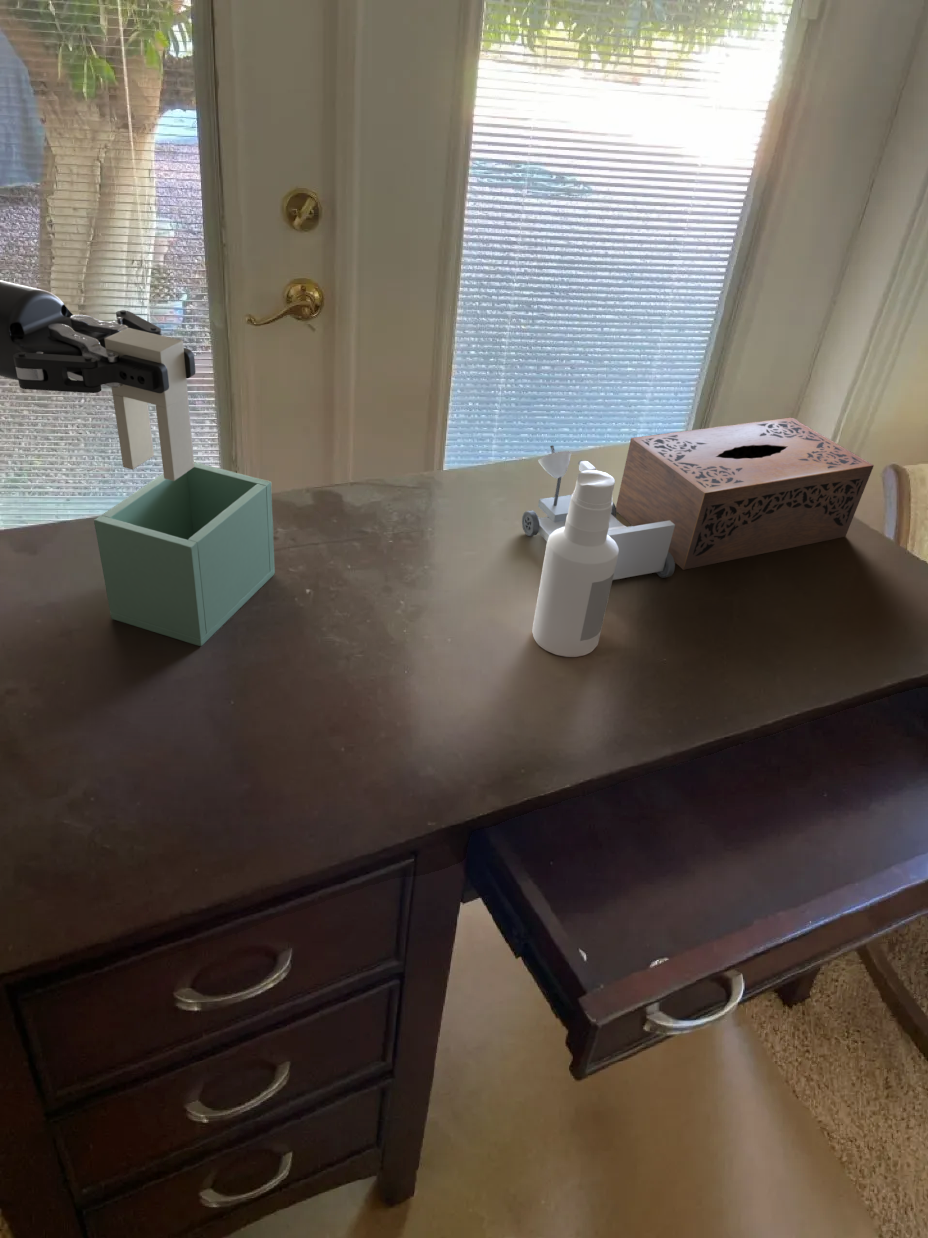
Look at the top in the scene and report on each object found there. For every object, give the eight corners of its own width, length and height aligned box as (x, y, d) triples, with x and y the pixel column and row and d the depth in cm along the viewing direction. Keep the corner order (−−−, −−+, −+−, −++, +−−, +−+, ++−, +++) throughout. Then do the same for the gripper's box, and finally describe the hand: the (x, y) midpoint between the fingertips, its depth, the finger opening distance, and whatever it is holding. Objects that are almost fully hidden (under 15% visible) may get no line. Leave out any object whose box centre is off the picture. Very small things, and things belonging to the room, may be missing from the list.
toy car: (520, 444, 103) (605, 434, 108) (510, 517, 109) (591, 506, 113) (600, 519, 90) (692, 505, 95) (584, 598, 96) (671, 581, 100)
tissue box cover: (769, 484, 123) (791, 417, 117) (845, 536, 113) (873, 465, 107) (615, 510, 113) (631, 437, 107) (683, 569, 103) (705, 493, 97)
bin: (201, 647, 84) (190, 547, 77) (110, 618, 86) (93, 519, 79) (275, 574, 95) (271, 481, 88) (193, 550, 97) (183, 458, 90)
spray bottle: (608, 655, 88) (646, 495, 78) (543, 661, 87) (573, 498, 76) (584, 615, 94) (617, 460, 83) (523, 620, 92) (548, 462, 81)
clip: (194, 466, 76) (183, 340, 69) (174, 481, 74) (160, 351, 67) (144, 453, 77) (128, 327, 71) (122, 467, 75) (104, 338, 68)
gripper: (-84, 303, 65) (115, 352, 62) (48, 261, 76) (225, 300, 73) (-58, 399, 70) (129, 450, 66) (63, 347, 81) (230, 387, 77)
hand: (178, 371), depth 69 cm, fingers closed on clip, 3 cm apart
